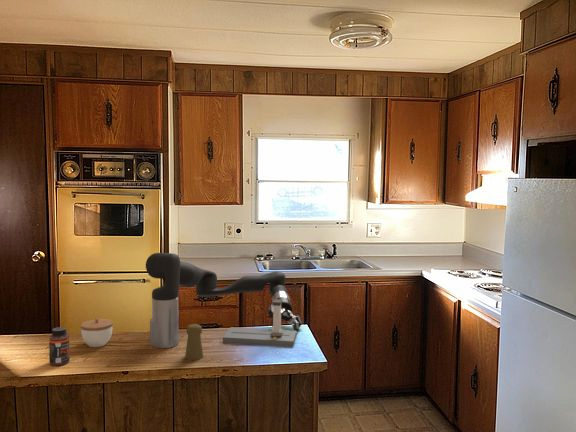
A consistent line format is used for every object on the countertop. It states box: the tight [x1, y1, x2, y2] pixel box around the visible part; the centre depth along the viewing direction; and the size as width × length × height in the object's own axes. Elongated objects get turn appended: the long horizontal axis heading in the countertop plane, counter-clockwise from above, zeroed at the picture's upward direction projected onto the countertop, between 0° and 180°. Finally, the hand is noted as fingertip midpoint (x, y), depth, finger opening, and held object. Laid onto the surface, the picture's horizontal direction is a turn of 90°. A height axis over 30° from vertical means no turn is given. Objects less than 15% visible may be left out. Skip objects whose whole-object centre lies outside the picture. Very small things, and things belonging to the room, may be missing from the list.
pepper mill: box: [184, 323, 204, 361], centre depth 161 cm, size 6×6×11 cm
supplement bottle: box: [48, 326, 71, 367], centre depth 154 cm, size 6×6×11 cm
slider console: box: [222, 326, 298, 348], centre depth 180 cm, size 26×12×2 cm, turn 83°
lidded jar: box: [80, 318, 114, 348], centre depth 172 cm, size 11×11×9 cm
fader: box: [271, 299, 284, 336], centre depth 179 cm, size 4×5×13 cm
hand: (287, 327), depth 186 cm, fingers open, 8 cm apart
